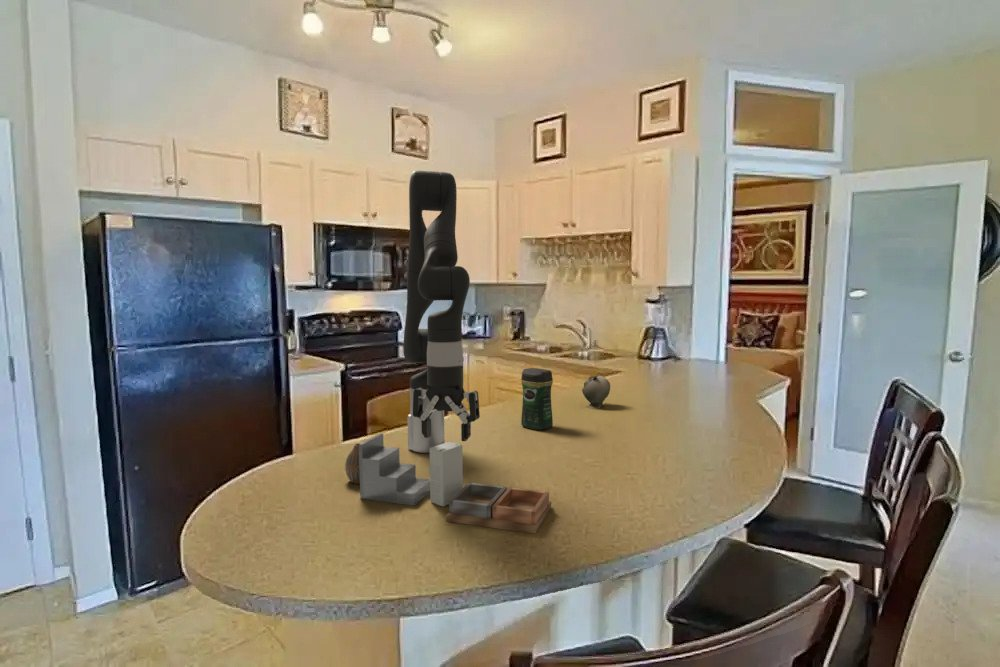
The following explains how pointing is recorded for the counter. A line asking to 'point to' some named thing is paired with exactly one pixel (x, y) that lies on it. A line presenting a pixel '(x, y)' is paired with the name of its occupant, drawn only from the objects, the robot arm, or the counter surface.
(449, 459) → the skincare box
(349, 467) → the vase
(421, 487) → the gray stair step block
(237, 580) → the counter surface
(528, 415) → the coffee jar
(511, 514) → the divided tray
